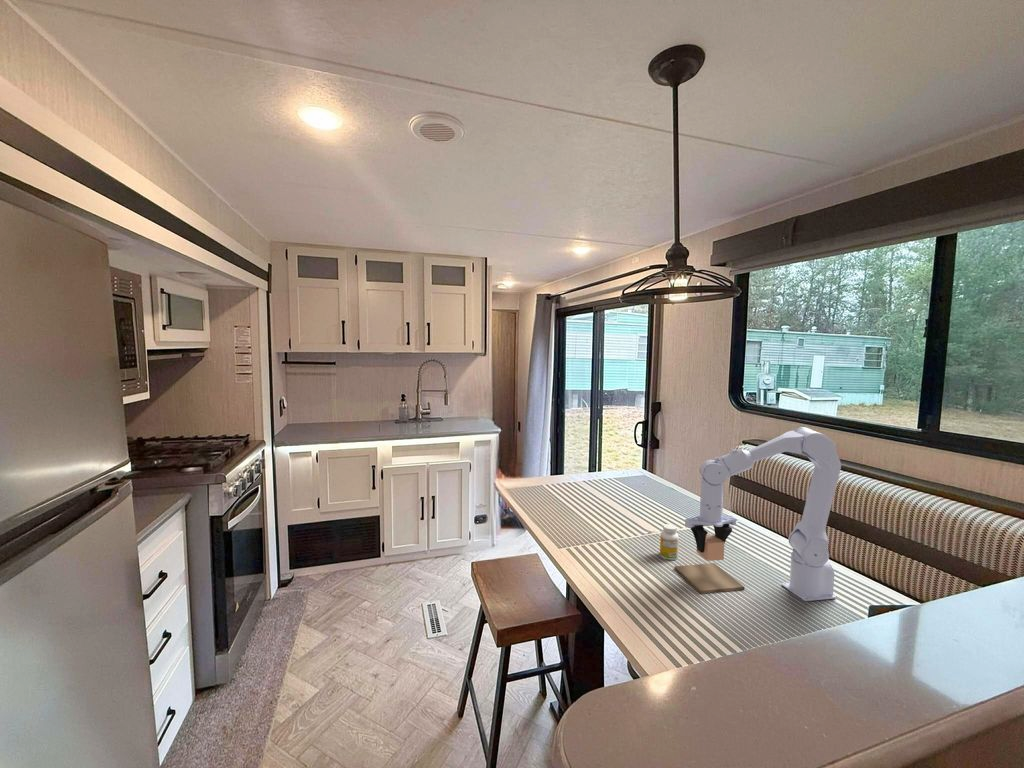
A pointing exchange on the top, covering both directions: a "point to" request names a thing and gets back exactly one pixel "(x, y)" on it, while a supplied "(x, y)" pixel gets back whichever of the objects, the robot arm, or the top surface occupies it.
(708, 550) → the terracotta block
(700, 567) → the walnut board
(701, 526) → the robot arm
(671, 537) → the supplement bottle
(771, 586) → the top surface
